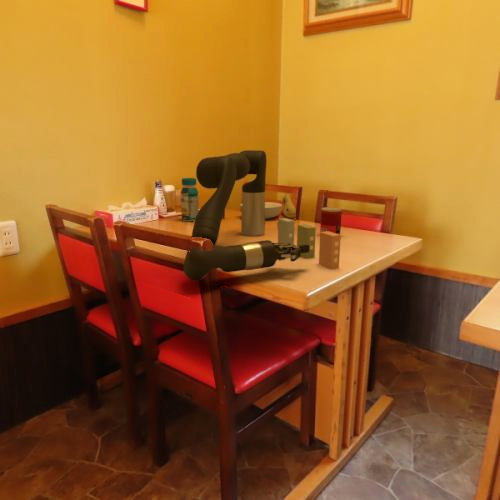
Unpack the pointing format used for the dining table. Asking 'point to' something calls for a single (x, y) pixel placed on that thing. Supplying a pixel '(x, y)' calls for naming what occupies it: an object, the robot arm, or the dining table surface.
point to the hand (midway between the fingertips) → (307, 248)
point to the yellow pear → (288, 209)
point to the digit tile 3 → (329, 249)
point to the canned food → (331, 220)
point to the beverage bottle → (189, 199)
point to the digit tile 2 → (307, 239)
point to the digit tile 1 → (286, 231)
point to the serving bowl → (270, 209)
